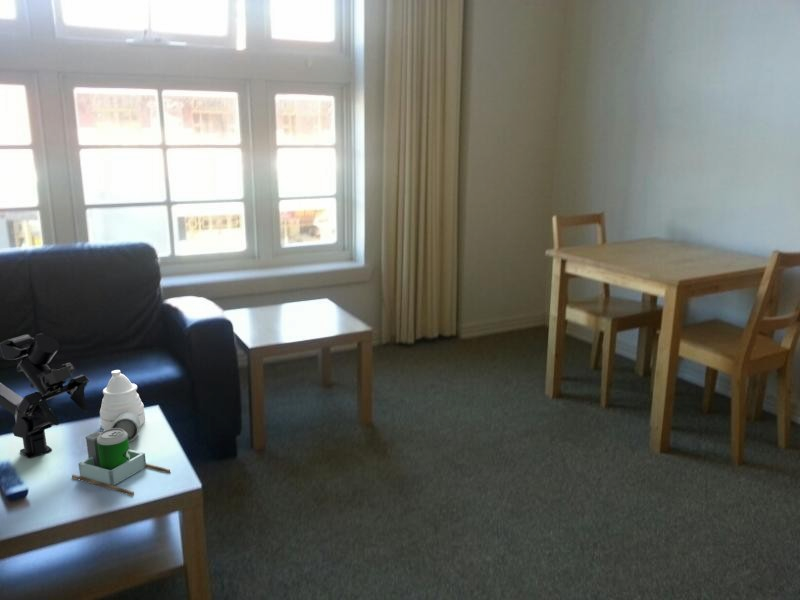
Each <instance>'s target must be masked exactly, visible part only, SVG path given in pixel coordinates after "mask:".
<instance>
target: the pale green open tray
mask: <svg viewBox="0 0 800 600" xmlns="http://www.w3.org/2000/svg"><path fill="white" fill-rule="evenodd" d="M101 433H102V431H101V432H100V431H97V430H96V431H94V432H92V433H90V434H88V435H86V436H84V437H85V440H86V447H87V455H88V456H87V457H88V458H87V459H84V460H82V461H80V462H79V463H78V471H79V472H78V473H79V476H81V477H84V478H88V479H91V480H95V481H98V482H102V483H105V484H109V485H112V486H116V485H117V484H119V483H120V482H122V481H124V480H126V479H127V478H130V477H132V476H133V475H134V474H136V473H139V471H141V470H143V469H145V468H147V467H146V463H147V462H146V453H145V452H141V451H137V450H134V449H133V450H132V449H130V448H129V450H130V460H129V461H127V462H125V463H123V464H121V465H120V466H118V467H116V468H114V469H112V470H108V469H104V468H100V460H99V452H98V444H97V438H98V436H99V435H100V434H101Z"/></svg>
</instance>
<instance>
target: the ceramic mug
mask: <svg viewBox="0 0 800 600" xmlns="http://www.w3.org/2000/svg"><path fill="white" fill-rule="evenodd" d="M139 424H140V421H139V418H138V416H137V415H136V414H135V413H133V412H128V411H127V412H122V413H121V414H119V415H118V416H117V417H116V418H115V420H114V423H113V425H112V427H111V429H114V428H120V429H123V430H124V431H125V432H127V434H128V442H129V443H131V442H132V441H134V440H135V439H136V437H138V434H139V429H140V426H139Z"/></svg>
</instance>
